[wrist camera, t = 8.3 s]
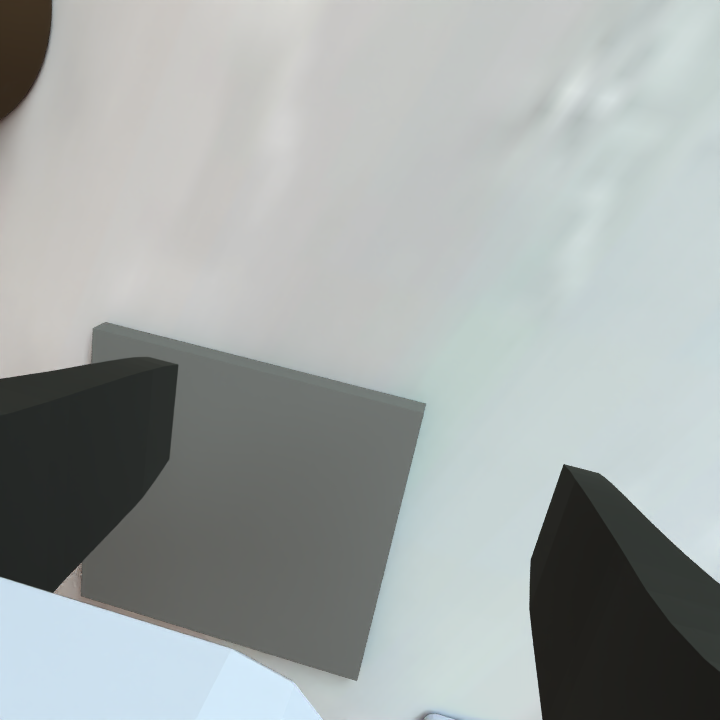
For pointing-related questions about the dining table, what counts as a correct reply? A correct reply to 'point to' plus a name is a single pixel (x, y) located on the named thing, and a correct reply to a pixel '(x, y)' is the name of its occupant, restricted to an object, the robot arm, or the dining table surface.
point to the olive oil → (21, 47)
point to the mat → (261, 506)
